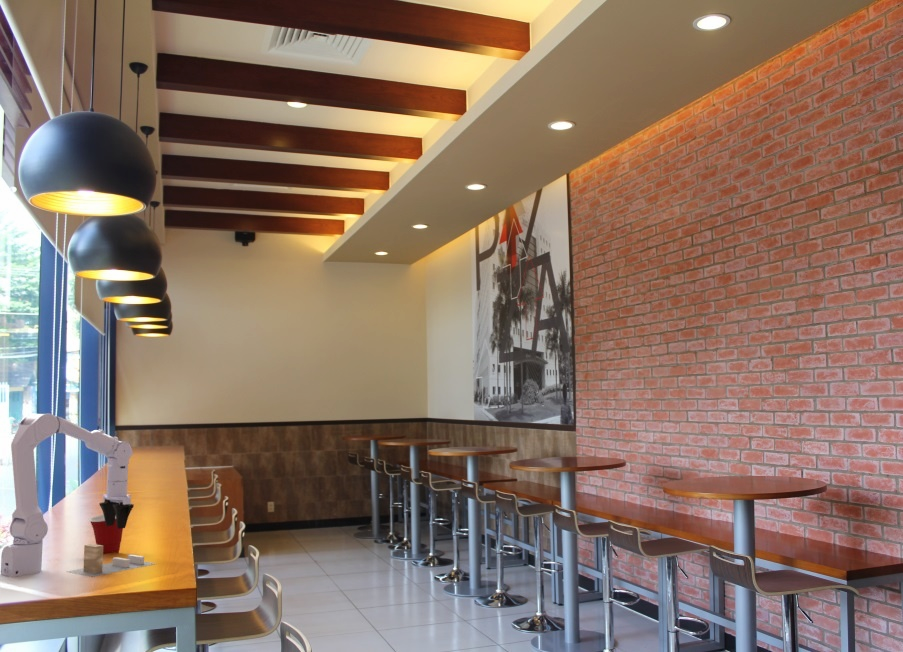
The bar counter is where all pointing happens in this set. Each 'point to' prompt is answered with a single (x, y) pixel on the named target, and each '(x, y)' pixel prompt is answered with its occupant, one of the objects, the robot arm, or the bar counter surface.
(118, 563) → the clip board
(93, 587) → the bar counter surface
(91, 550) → the wooden block
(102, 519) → the plastic cup
